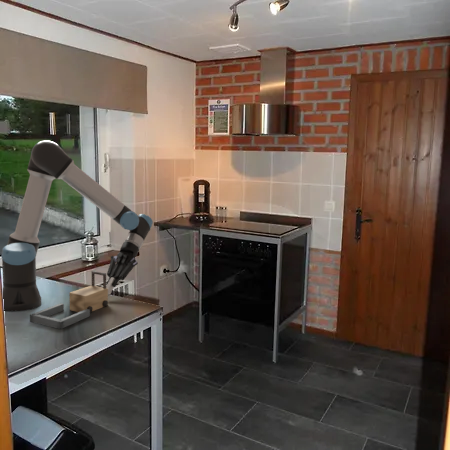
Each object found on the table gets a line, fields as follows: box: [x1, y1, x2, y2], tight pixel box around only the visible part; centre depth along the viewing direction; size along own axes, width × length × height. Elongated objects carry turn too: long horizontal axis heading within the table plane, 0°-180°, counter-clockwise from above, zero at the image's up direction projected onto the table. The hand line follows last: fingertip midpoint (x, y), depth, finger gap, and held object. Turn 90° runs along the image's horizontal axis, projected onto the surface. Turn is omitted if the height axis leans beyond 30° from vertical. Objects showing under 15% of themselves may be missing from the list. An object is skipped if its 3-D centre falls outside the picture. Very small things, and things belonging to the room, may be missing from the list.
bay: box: [29, 302, 91, 330], centre depth 163 cm, size 14×14×2 cm
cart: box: [68, 270, 109, 314], centre depth 175 cm, size 9×12×13 cm
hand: (106, 292), depth 186 cm, fingers closed
